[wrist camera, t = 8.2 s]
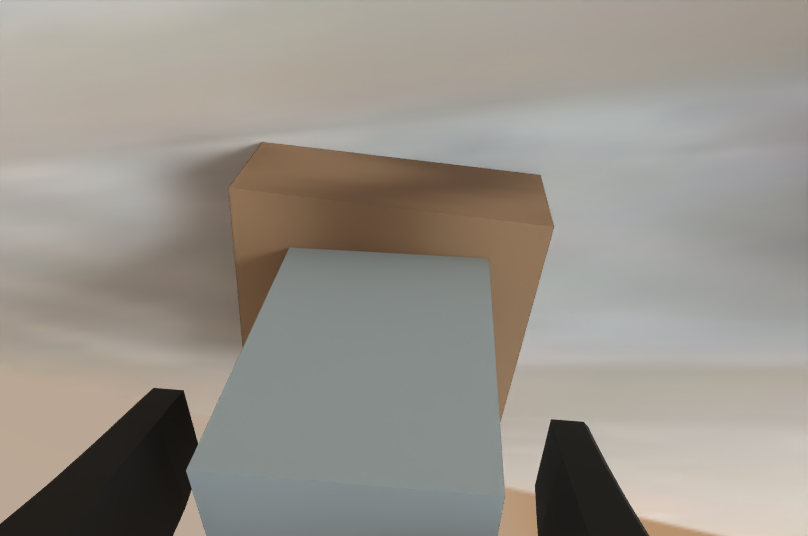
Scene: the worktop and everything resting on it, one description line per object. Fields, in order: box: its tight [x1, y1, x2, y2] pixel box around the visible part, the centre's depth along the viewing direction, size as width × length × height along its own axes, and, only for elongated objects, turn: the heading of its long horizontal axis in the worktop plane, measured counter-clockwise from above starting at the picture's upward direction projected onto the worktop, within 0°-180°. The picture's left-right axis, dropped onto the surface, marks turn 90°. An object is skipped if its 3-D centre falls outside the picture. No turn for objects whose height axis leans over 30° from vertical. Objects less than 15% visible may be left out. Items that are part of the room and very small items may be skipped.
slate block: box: [186, 248, 505, 536], centre depth 12 cm, size 4×4×6 cm
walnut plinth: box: [229, 142, 554, 421], centre depth 16 cm, size 7×7×3 cm
